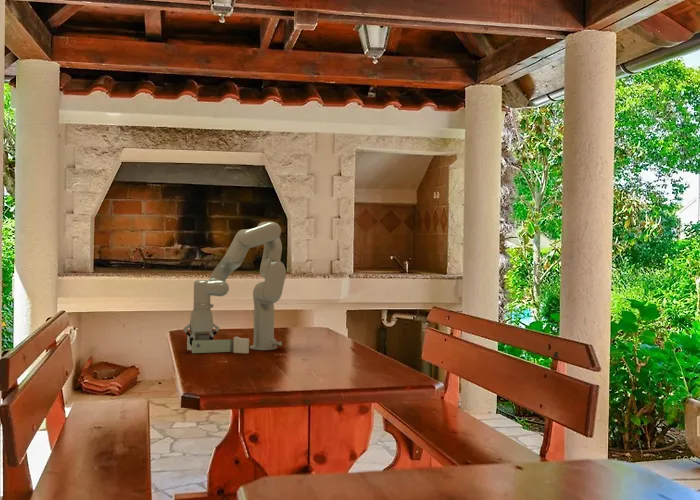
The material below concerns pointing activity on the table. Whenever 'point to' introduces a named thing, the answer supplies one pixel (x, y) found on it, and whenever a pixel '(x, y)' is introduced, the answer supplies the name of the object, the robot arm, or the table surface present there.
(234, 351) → the pale rectangular blocks
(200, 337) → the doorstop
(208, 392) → the table surface
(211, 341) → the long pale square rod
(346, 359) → the table surface
